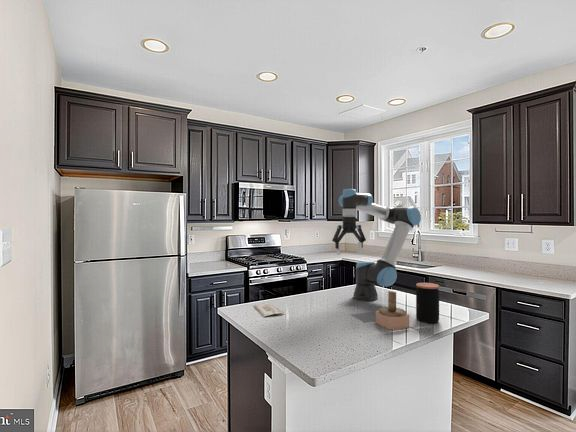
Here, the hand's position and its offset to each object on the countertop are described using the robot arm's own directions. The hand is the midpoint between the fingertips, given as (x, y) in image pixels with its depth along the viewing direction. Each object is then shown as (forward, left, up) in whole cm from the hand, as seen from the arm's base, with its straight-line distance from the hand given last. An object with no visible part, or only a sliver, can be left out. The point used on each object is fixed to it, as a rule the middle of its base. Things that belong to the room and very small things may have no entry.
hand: (349, 254), depth 188 cm
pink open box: (-5, +32, -31) cm, 45 cm away
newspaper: (+44, -12, -32) cm, 55 cm away
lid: (-5, +32, -25) cm, 41 cm away
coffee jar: (-26, +32, -31) cm, 52 cm away
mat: (-1, +18, -31) cm, 36 cm away
